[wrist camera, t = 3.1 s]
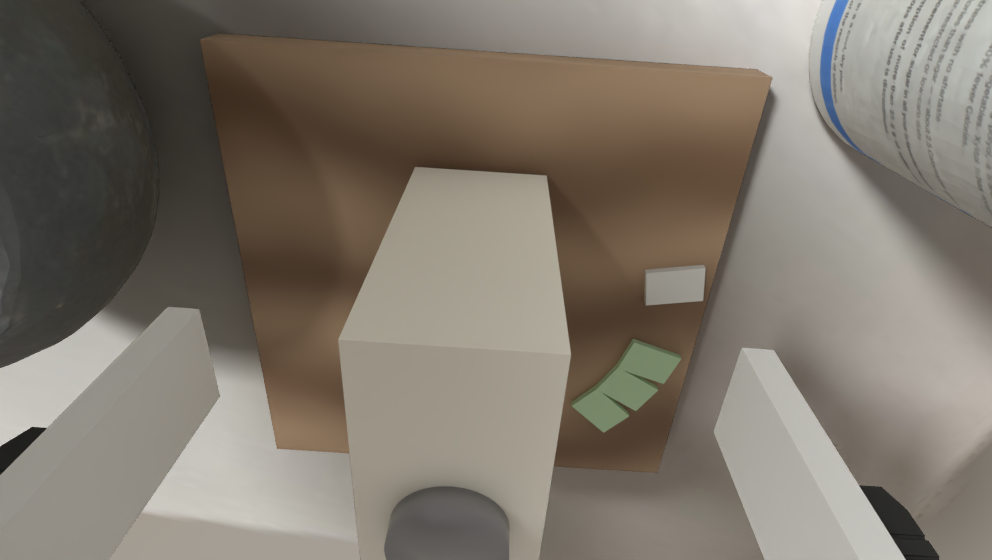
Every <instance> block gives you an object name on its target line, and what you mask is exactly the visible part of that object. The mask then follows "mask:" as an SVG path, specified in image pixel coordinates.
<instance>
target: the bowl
mask: <svg viewBox="0 0 992 560" xmlns="http://www.w3.org/2000/svg"><path fill="white" fill-rule="evenodd" d="M158 194H159V164H158V158H157V153H156V148H155V144H154V140H153V136H152V132H151V129H150V125H149V121H148V117H147V113H146V110H145V108H144V106H143V103H142V101H141V99H140V97H139V95H138V93H137V91H136V90H135V88H134V86H133V84H132V81H131V79H130V77H129V75H128V72H127V70H126V68H125V66H124V65H123V63H122V61H121V59H120V58H119V56H118V54H117V53H116V51H115V49H114V48H113V46H112V45H111V43H110V41H109V40H108V38H107V36H106V35H105V33H104V32H103V30H102V29H101V27H100V26H99V25H98V23H97V22H96V21H95V19H94V18H93V17H92V15H91V14H90V13H89V12H88V11H87V9H86V8H85V7H84V6H83V5H82V4H81V3H80V1H79V0H0V368H1V367H5V366H8V365H10V364H12V363H15V362H17V361H19V360H22V359H24V358H26V357H28V356H30V355H33V354H35V353H37V352H39V351H41V350H44V349H46V348H48V347H50V346H53V345H55V344H57V343H59V342H60V341H62V340H64V339H65V338H67V337H68V336H70V335H72V334H73V333H75V332H76V331H77V330H78V329H80V328H81V327H82V326H83V325H84V324H86V323H87V322H88V321H89V320H90V319H92V318H93V317H94V316H95V315H96V314H97V313H99V312H100V311H101V310H102V309H103V308H104V307H105V306H106V305H107V304H108V303H109V302H110V301H111V300H112V299H113V297H114V296H115V295H116V294H117V292H118V291H119V290H120V288H121V287H122V286H123V284H124V283H125V282H126V280H127V279H128V278H129V276H130V275H131V274H132V272H133V271H134V269H135V268H136V266H137V265H138V263H139V262H140V260H141V258H142V255H143V253H144V251H145V249H146V246H147V244H148V242H149V239H150V237H151V235H152V231H153V227H154V223H155V219H156V212H157V204H158Z"/></svg>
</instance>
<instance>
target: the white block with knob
mask: <svg viewBox="0 0 992 560" xmlns="http://www.w3.org/2000/svg"><path fill="white" fill-rule="evenodd" d="M338 343H339V353H340V363H341V373H342V383H343V393H344V403H345V413H346V423H347V433H348V443H349V453H350V463H351V473H352V483H353V493H354V503H355V513H356V523H357V533H358V543H359V553H360V560H539V556H540V550H541V543H542V537H543V530H544V524H545V518H546V511H547V505H548V499H549V492H550V486H551V479H552V473H553V467H554V460H555V454H556V448H557V441H558V435H559V428H560V422H561V416H562V409H563V403H564V397H565V390H566V384H567V378H568V371H569V365H570V358H571V350H570V343H569V336H568V328H567V321H566V313H565V306H564V299H563V291H562V284H561V277H560V269H559V262H558V255H557V247H556V240H555V232H554V225H553V218H552V210H551V203H550V196H549V188H548V181H547V176H546V175H531V174H516V173H501V172H485V171H470V170H455V169H440V168H425V167H415V168H414V171H413V173H412V175H411V177H410V180H409V182H408V184H407V186H406V189H405V191H404V193H403V195H402V198H401V200H400V202H399V204H398V207H397V209H396V211H395V213H394V216H393V218H392V220H391V222H390V224H389V227H388V229H387V231H386V233H385V236H384V238H383V240H382V242H381V245H380V247H379V249H378V251H377V254H376V256H375V258H374V260H373V263H372V265H371V267H370V269H369V272H368V274H367V276H366V278H365V281H364V283H363V285H362V287H361V290H360V292H359V294H358V296H357V298H356V301H355V303H354V305H353V307H352V310H351V312H350V314H349V316H348V319H347V321H346V323H345V325H344V328H343V330H342V332H341V334H340V337H339V339H338Z"/></svg>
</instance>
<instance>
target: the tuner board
mask: <svg viewBox="0 0 992 560" xmlns="http://www.w3.org/2000/svg"><path fill="white" fill-rule="evenodd" d="M200 44H201V49H202V55H203V60H204V65H205V70H206V76H207V81H208V86H209V92H210V97H211V102H212V107H213V113H214V118H215V123H216V129H217V134H218V139H219V144H220V150H221V155H222V160H223V166H224V171H225V176H226V181H227V187H228V192H229V197H230V203H231V208H232V213H233V218H234V224H235V229H236V234H237V240H238V245H239V250H240V255H241V261H242V266H243V271H244V277H245V282H246V287H247V293H248V298H249V303H250V308H251V314H252V319H253V324H254V330H255V335H256V340H257V345H258V351H259V356H260V361H261V367H262V372H263V377H264V382H265V388H266V393H267V398H268V404H269V409H270V414H271V419H272V425H273V430H274V435H275V441H276V446H277V449H291V450H307V451H323V452H339V453H349V443H348V433H347V423H346V413H345V403H344V393H343V383H342V373H341V363H340V353H339V343H338V339H339V337H340V334H341V332H342V330H343V328H344V325H345V323H346V321H347V319H348V316H349V314H350V312H351V310H352V307H353V305H354V303H355V301H356V298H357V296H358V294H359V292H360V290H361V287H362V285H363V283H364V281H365V278H366V276H367V274H368V272H369V269H370V267H371V265H372V263H373V260H374V258H375V256H376V254H377V251H378V249H379V247H380V245H381V242H382V240H383V238H384V236H385V233H386V231H387V229H388V227H389V224H390V222H391V220H392V218H393V216H394V213H395V211H396V209H397V207H398V204H399V202H400V200H401V198H402V195H403V193H404V191H405V189H406V186H407V184H408V182H409V180H410V177H411V175H412V173H413V171H414V168H415V167H425V168H440V169H455V170H470V171H485V172H501V173H516V174H531V175H546V176H547V181H548V188H549V196H550V203H551V210H552V218H553V225H554V232H555V240H556V247H557V255H558V262H559V269H560V277H561V284H562V291H563V299H564V306H565V313H566V321H567V328H568V336H569V343H570V350H571V358H570V365H569V371H568V378H567V384H566V390H565V397H564V403H563V409H562V416H561V422H560V428H559V435H558V441H557V448H556V454H555V460H554V466H559V467H574V468H590V469H606V470H622V471H637V472H653V473H657V472H658V469H659V465H660V462H661V459H662V455H663V452H664V448H665V445H666V441H667V438H668V435H669V431H670V428H671V424H672V421H673V417H674V414H675V410H676V407H677V404H678V400H679V397H680V393H681V390H682V386H683V383H684V380H685V376H686V373H687V369H688V366H689V362H690V359H691V355H692V352H693V349H694V345H695V342H696V338H697V335H698V331H699V328H700V325H701V321H702V318H703V314H704V311H705V307H706V304H707V300H708V297H709V294H710V290H711V287H712V283H713V280H714V276H715V273H716V270H717V266H718V263H719V259H720V256H721V252H722V249H723V245H724V242H725V239H726V235H727V232H728V228H729V225H730V221H731V218H732V215H733V211H734V208H735V204H736V201H737V197H738V194H739V190H740V187H741V184H742V180H743V177H744V173H745V170H746V166H747V163H748V160H749V156H750V153H751V149H752V146H753V142H754V139H755V135H756V132H757V129H758V125H759V122H760V118H761V115H762V111H763V108H764V105H765V101H766V98H767V94H768V91H769V87H770V84H771V80H772V77H770V76H768V75H766V74H764V73H762V72H761V71H759V70H757V69H742V68H727V67H712V66H697V65H682V64H667V63H652V62H637V61H623V60H608V59H593V58H578V57H563V56H548V55H533V54H518V53H503V52H488V51H473V50H459V49H444V48H429V47H414V46H399V45H384V44H369V43H354V42H339V41H324V40H309V39H295V38H280V37H265V36H250V35H235V34H220V33H219V34H215V35H212V36H209V37H205V38H202V39H200ZM694 265H704V266H705V268H706V270H705V283H704V296H703V301H696V302H684V303H671V304H659V305H645V302H644V300H645V270H648V269H659V268H671V267H683V266H694ZM632 339H636V340H639V341H641V342H644V343H647V344H650V345H653V346H656V347H659V348H662V349H664V350H667V351H670V352H673V353H676V354H679V355H680V356H681V360H680V362H679V363H678V365H677V366H676V367H675V369H674V370H673V372H672V373H671V375H670V376H669V377H668V379H667V380H666V382H665V383H664V384H662V383H659V382H656V381H653V380H650V379H647V378H644V377H642V378H644V379H645V380H647V381H649V382H651V383H652V384H654V385H656V386H657V388H658V391H657V392H656V393H655V394H654V395H653V396H652V397H651V398H650V399H648V400H647V401H646V402H645V403H644V404H643V405H642V406H641V407H640V408H639V409H638V410H637V411H635V410H633V409H631V408H629V407H627V406H626V405H624V404H622V403H620V402H618V401H617V400H615V399H614V400H615V401H616V402H617V403H619V404H620V405H621V406H622V407H623V408H624V409H625V410H627V411H628V413H629V417H628V418H626V419H624V420H623V421H621V422H620V423H618V424H617V425H615V426H613V427H612V428H610V429H609V430H607V431H606V432H604V433H603V432H602V431H601V430H600V429H599V428H597V427H596V426H595V425H594V424H593V423H591V422H590V421H589V420H588V419H587V418H585V417H584V416H583V415H582V414H581V413H579V412H578V411H577V410H576V409H575V408H573V407H572V404H571V402H572V401H573V400H575V399H576V398H578V397H579V396H581V395H582V394H584V393H585V392H586V391H588V390H589V389H591V388H592V387H594V386H595V385H596V384H597V383H598V382H599V381H600V380H601V379H602V378H603V377H604V376H605V375H606V374H607V373H608V372H609V371H610V370H611V369H612V368H613V367H614V366H615V365H616V364H617V363H618V361H619V360H620V358H621V357H622V355H623V353H624V352H625V350H626V349H627V347H628V346H629V344H630V343H631V341H632ZM640 377H641V376H640Z"/></svg>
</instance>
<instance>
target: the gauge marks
mask: <svg viewBox="0 0 992 560" xmlns="http://www.w3.org/2000/svg"><path fill="white" fill-rule="evenodd" d="M705 270H706V268H705V266H704V265H694V266H683V267H671V268H659V269H648V270H645V300H644V302H645V305H659V304H671V303H684V302H696V301H703V296H704V283H705ZM680 360H681V356H680V355H679V354H676V353H673V352H670V351H667V350H664V349H662V348H659V347H656V346H653V345H650V344H647V343H644V342H641V341H639V340H636V339H632V341H631V343H630V344H629V346H628V347H627V349H626V350H625V352H624V353H623V355H622V357H621V358H620V360H619V361H618V363H617V364H616V365H615V366H614V367H613V368H612V369H611V370H610V371H609V372H608V373H607V374H606V375H605V376H604V377H603V378H602V379H601V380H600V381H599V382H598V383H597V384H596V385H595V386H594V387H592V388H591V389H589V390H588V391H586V392H585V393H584V394H582V395H581V396H579V397H578V398H576V399H575V400H573V401H572V402H571V404H572V407H573V408H575V409H576V410H577V411H578V412H579V413H581V414H582V415H583V416H584V417H585V418H587V419H588V420H589V421H590V422H591V423H593V424H594V425H595V426H596V427H597V428H599V429H600V430H601V431H602V432H603V433H604V432H606V431H607V430H609V429H610V428H612V427H613V426H615V425H617V424H618V423H620V422H621V421H623V420H624V419H626V418H628V417H629V413H628V411H627V410H625V409H624V408H623V407H622V406H621V405H620V404H619V403H617V402H616V401H615V400H617V401H618V402H620V403H622V404H624V405H626V406H627V407H629V408H631V409H633V410H635V411H637V410H638V409H639V408H640V407H641V406H642V405H643V404H644V403H645V402H646V401H647V400H648V399H650V398H651V397H652V396H653V395H654V394H655V393H656V392H657V391H658V388H657V386H656V385H654V384H652V383H651V382H649V381H647V380H645V379H644V378H647V379H650V380H653V381H656V382H659V383H662V384H664V383H665V382H666V380H667V379H668V377H669V376H670V375H671V373H672V372H673V370H674V369H675V367H676V366H677V365H678V363H679V362H680ZM640 376H641V377H640ZM642 377H644V378H642ZM614 399H615V400H614Z"/></svg>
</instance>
